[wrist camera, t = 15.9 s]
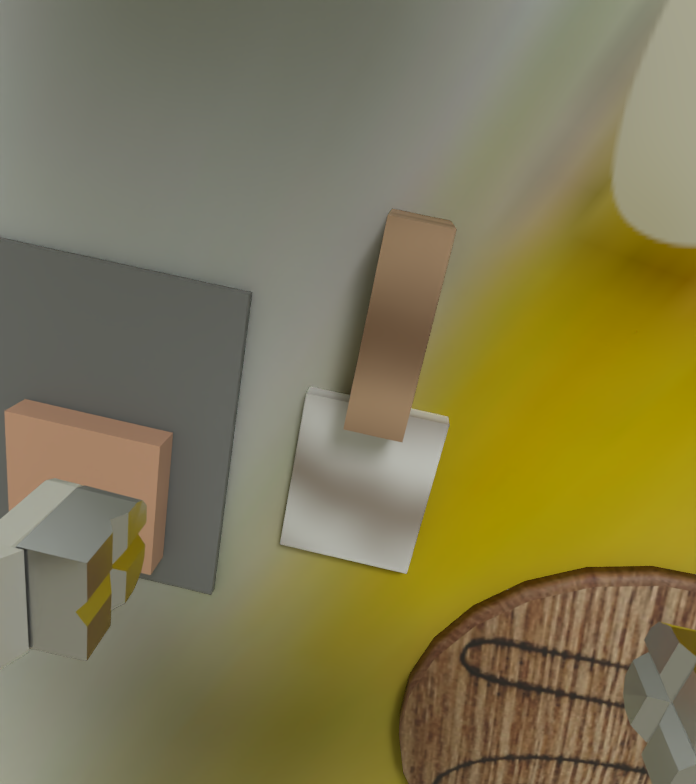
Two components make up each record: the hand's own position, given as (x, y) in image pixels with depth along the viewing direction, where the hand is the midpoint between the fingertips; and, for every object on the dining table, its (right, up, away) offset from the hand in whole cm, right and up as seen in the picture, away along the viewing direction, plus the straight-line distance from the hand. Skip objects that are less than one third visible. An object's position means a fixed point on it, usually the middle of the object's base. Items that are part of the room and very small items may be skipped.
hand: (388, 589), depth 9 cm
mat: (-14, +1, +21) cm, 25 cm away
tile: (-14, +2, +20) cm, 24 cm away
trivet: (+15, -17, +26) cm, 34 cm away
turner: (+1, +3, +19) cm, 19 cm away
